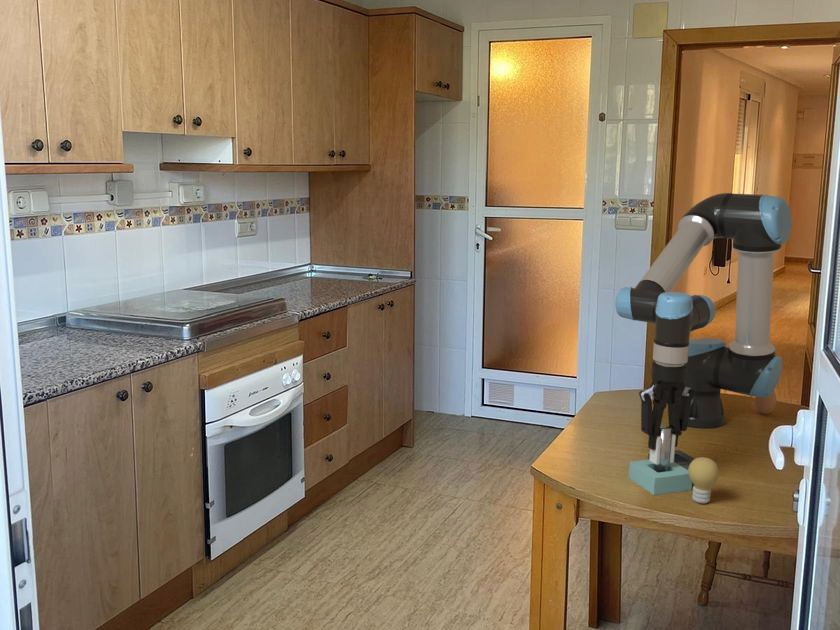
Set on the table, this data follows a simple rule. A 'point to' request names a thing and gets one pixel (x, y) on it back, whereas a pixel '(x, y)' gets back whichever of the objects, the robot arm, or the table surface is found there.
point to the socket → (659, 477)
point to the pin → (664, 449)
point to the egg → (766, 403)
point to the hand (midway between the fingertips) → (661, 461)
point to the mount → (681, 459)
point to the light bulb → (702, 478)
